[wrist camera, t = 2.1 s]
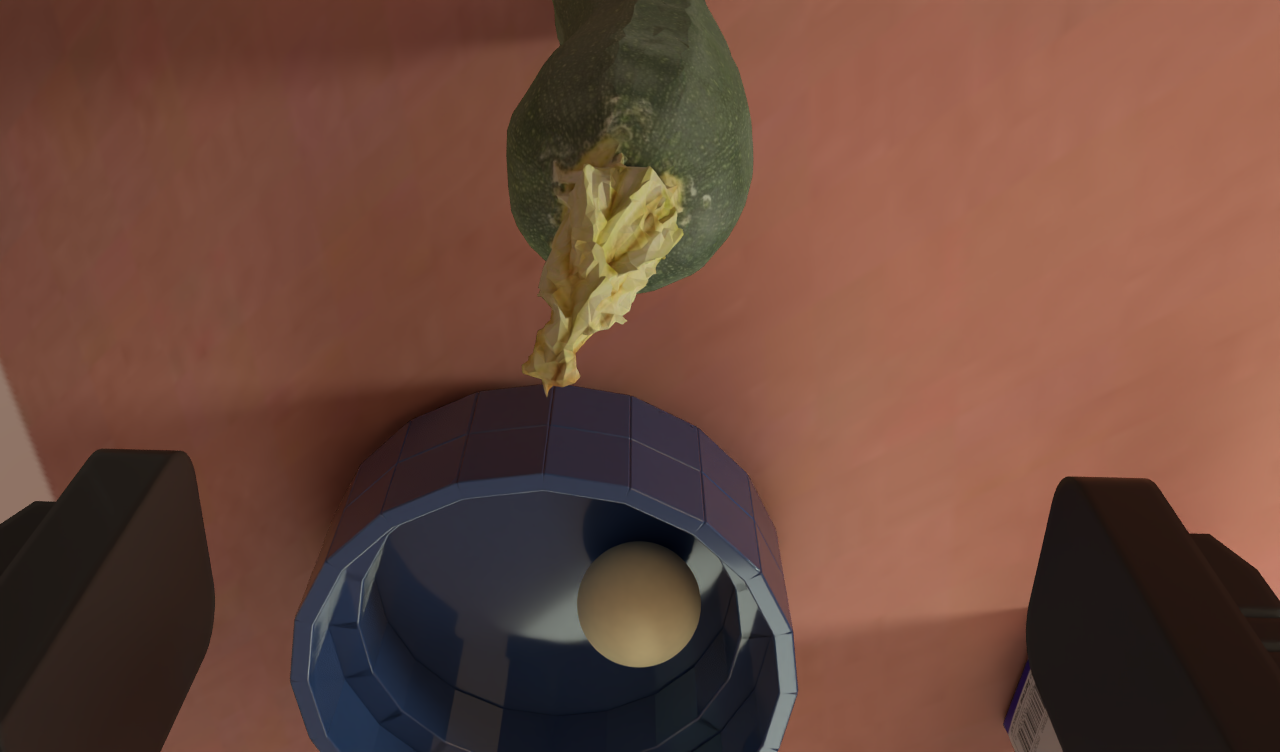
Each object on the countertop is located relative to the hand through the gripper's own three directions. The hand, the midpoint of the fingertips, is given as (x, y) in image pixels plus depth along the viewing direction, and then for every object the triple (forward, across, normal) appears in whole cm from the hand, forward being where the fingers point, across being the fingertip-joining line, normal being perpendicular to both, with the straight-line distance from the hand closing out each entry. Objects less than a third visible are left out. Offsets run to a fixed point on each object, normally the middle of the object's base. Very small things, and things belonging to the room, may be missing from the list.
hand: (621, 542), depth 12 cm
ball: (+22, -1, +18) cm, 29 cm away
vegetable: (+25, 0, 0) cm, 25 cm away
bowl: (+25, +2, +19) cm, 31 cm away
